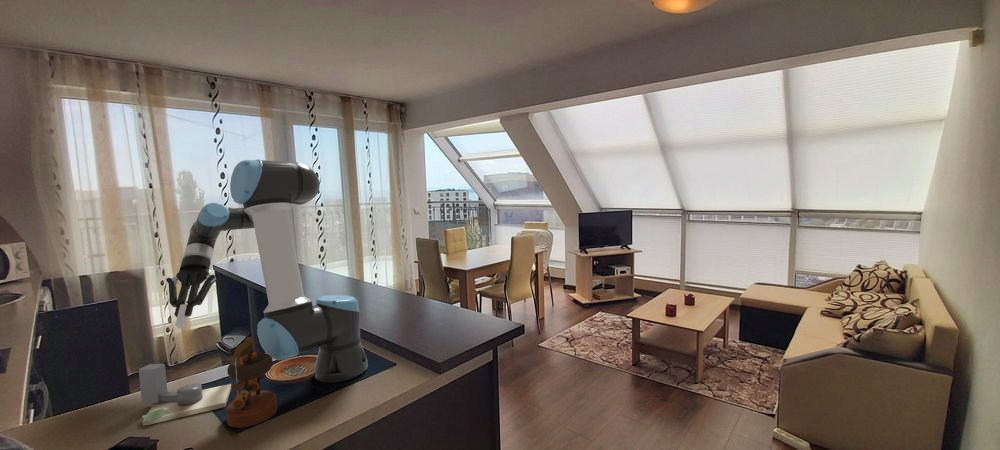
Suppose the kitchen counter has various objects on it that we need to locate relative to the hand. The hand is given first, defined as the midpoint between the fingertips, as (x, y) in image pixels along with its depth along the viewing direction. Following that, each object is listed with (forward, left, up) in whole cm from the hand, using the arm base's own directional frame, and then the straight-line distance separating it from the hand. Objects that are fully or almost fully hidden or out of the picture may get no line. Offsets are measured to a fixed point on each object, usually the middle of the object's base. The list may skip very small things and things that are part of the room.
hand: (179, 326), depth 112 cm
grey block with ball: (-17, +5, -14) cm, 23 cm away
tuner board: (-21, +3, -16) cm, 26 cm away
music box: (-38, -6, -16) cm, 41 cm away
